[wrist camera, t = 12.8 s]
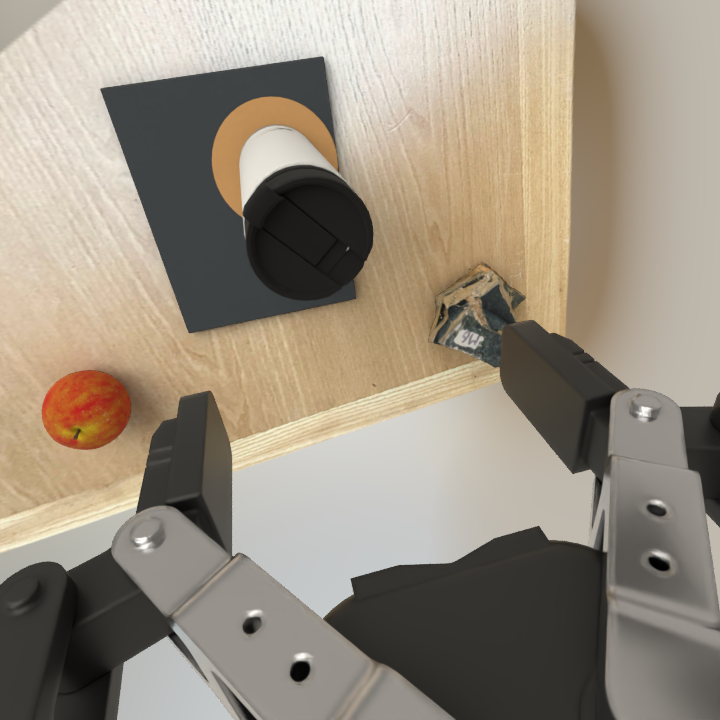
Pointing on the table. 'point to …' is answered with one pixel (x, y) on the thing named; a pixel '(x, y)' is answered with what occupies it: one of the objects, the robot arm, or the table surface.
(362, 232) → the travel mug
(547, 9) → the table surface
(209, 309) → the mat
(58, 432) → the fruit
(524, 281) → the table surface
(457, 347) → the rock
